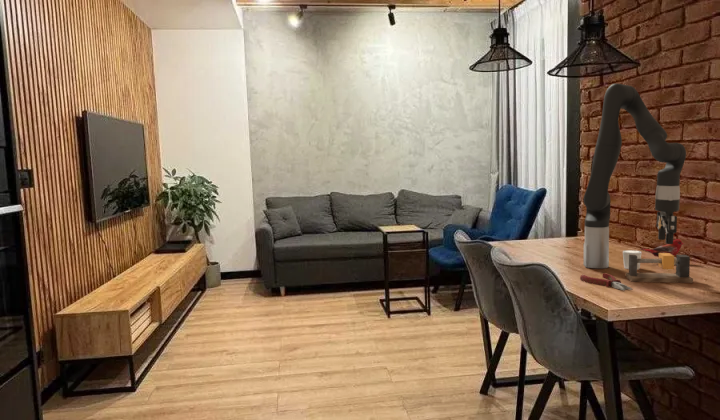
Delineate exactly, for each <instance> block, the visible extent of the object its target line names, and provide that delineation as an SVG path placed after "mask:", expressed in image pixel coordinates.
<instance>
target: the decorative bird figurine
mask: <svg viewBox="0 0 720 420" xmlns="http://www.w3.org/2000/svg"><path fill="white" fill-rule="evenodd" d="M682 245H685V243H684V242H682V240H681V239H680V238H676V239H673V244H664V245H660V246H657V247H654V248H653V249H647V248H639V249H640V250H641V251H645V252H647V253H650V254H652V255H653V256H654V257H657V258H659V253H670V254H672V255H674V257H676V255H678V253H679V251H680V250H681V248H682Z"/></svg>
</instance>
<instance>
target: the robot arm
mask: <svg viewBox="0 0 720 420" xmlns="http://www.w3.org/2000/svg"><path fill="white" fill-rule="evenodd" d="M621 109H623V110H625V112H627V113H629V115H630V116H631V117H632V118H633V121H634V124H635V127H636V130H637V132H638V134H639V135H640V137H641V138H642V139H644V141H645V142H646V143H647V146H648V149H649V150H650V154H651V156H652V157H653V158H654V159H655V160H656V161H658V162H659V163H663V164H664V163H665V166H664V168H662V169H659V170H658V172H657V175H656V188H655V200H654V201H655V202H654V210H655V211H657V212H656V225H655V227H656V228H657V230H658V231H657V232H658V234H657V235H658V236H657V237H658V238H657V239H658V240H659V241H665V245H667V244H673V240H674V235H675V234H676V233H677V229H678V216H677V215H674V213H675V212H679V211H680V200H681V199H680V198H681V188H680V186H681V184H680V183H681V173H682V170H683V167H684V164H685V161H686V158H687V151H686V147H685V145H684V144H682V143H679V142H667V138H668V133H667V131H666V130H665V129H664V127H662V125H661V124H660V123H659V122H658V121H657V119H655V118H654V116H653V115H652V113H651V112H650V111H649V109H648V107H647V105H646V104H645V102H644V101H643V99H642V97H641V95H640V94H639V92H638V90H637V89H636V88H635V87H634V86H632V85H629V84H622V83H612V84H611V85H609V87H608V88H607V89H606V91H605V94H604V97H603V105H602V114H601V121H600V124H599V125H600V126H599V130H598V135H597V140H596V142H595V143H596V144H595V148H594V152H593V159H592V165H591V166H592V167H591V173H590V178H589V179H588V180H589V181H588V183H587V187H586V190H585V192H584V195H583V204H584V207H586V210H585V212H586V213H585V218H584V243H583V266H584V267H585V268H587V269H589V268H591V269H607V268H609V265H610V264H609V263H610V262H609V260H610V259H609V258H610V219H611V195H610V193H609V185H610V181H611V177H612V174H613V173H614V170H615V169H616V166H617V163H618V160H619V157H620V154H621V150H622V149H621V148H622V146H623V145H622V144H623V138H622V133H621V130H620V125H619V118H620V117H619V116H620V113H621Z"/></svg>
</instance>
